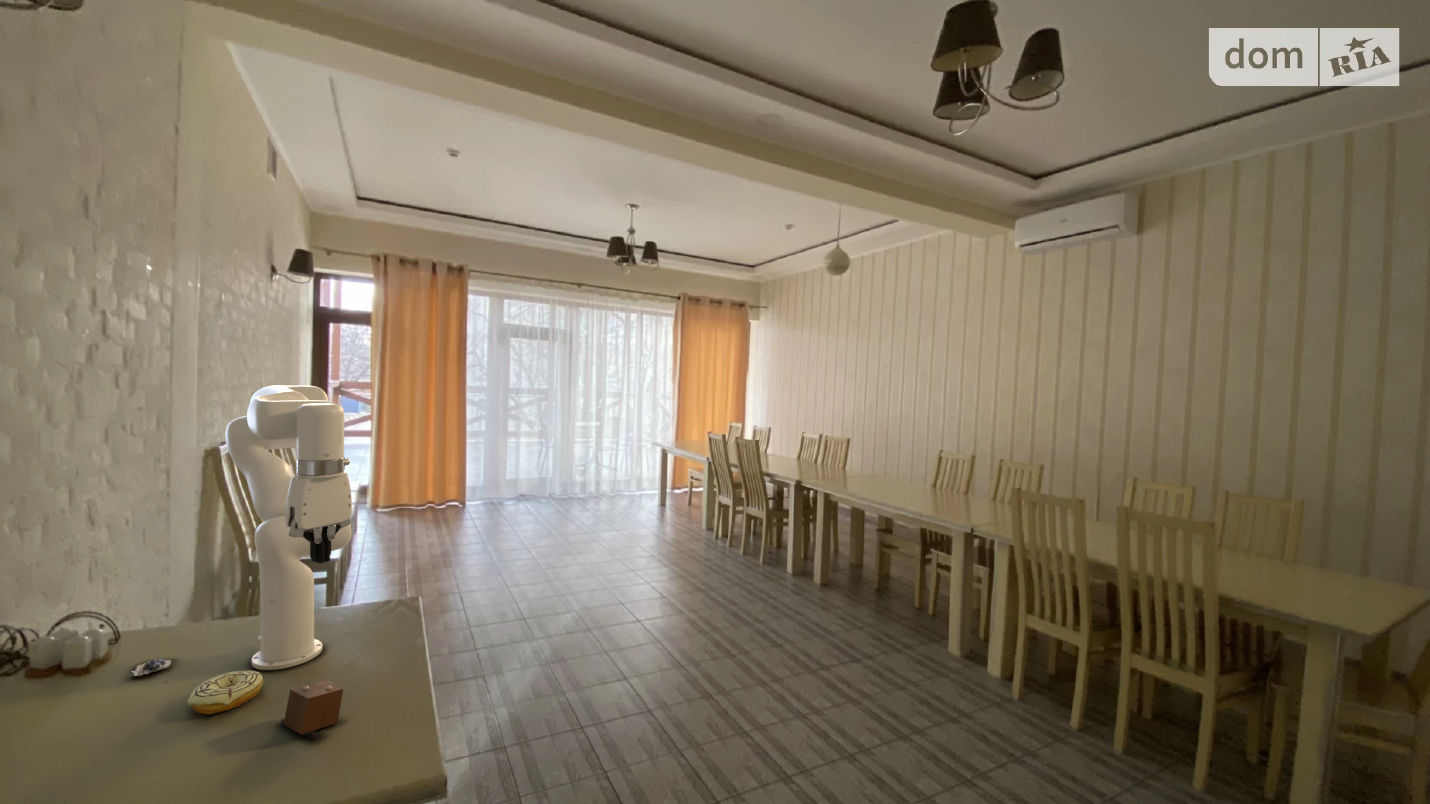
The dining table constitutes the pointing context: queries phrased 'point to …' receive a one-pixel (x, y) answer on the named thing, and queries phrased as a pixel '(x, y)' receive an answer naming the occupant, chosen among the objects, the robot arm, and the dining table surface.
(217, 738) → the dining table surface
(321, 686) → the die
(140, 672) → the oyster shell
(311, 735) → the stop strip
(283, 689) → the dining table surface
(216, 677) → the decorated donut
